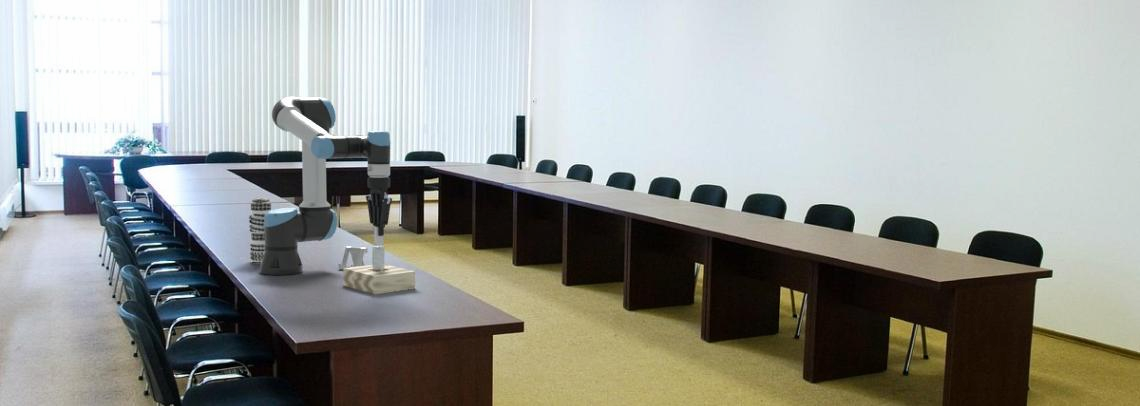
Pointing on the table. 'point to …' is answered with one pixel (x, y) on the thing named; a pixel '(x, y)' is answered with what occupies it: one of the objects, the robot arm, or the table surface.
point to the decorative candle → (258, 227)
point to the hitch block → (378, 279)
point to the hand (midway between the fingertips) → (378, 245)
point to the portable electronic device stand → (353, 257)
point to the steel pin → (378, 258)
